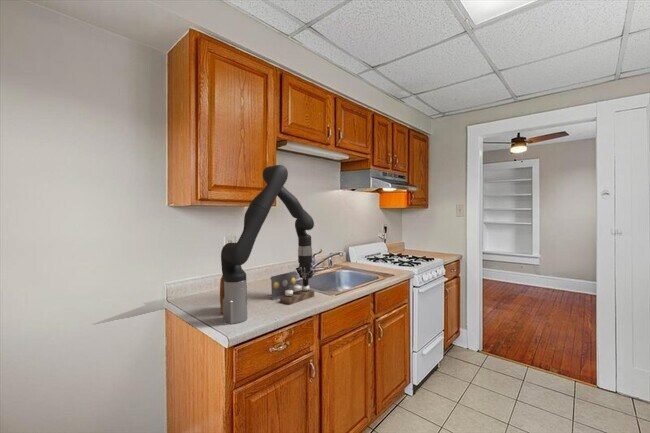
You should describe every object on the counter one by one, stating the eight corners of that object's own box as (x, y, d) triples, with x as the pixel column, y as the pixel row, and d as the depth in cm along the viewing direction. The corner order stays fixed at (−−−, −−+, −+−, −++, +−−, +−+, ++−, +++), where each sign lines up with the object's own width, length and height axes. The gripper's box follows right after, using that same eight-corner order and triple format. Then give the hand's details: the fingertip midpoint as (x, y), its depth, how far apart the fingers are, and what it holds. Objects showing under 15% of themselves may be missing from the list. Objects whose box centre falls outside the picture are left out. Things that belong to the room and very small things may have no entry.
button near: (288, 296, 154) (288, 292, 153) (283, 295, 156) (283, 291, 156) (294, 294, 157) (294, 290, 156) (289, 293, 159) (289, 289, 159)
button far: (305, 291, 163) (305, 287, 162) (300, 289, 165) (300, 286, 165) (311, 289, 166) (310, 285, 165) (305, 288, 168) (305, 284, 168)
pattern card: (273, 300, 160) (272, 277, 160) (269, 299, 162) (269, 276, 162) (298, 292, 174) (297, 271, 173) (294, 291, 176) (294, 270, 175)
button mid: (297, 291, 158) (297, 287, 158) (292, 289, 161) (292, 286, 161) (303, 289, 161) (302, 285, 161) (297, 288, 164) (297, 284, 164)
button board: (289, 304, 152) (289, 298, 152) (280, 302, 157) (280, 296, 156) (314, 296, 165) (314, 290, 165) (305, 294, 170) (305, 288, 170)
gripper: (291, 253, 166) (292, 285, 167) (309, 256, 158) (309, 289, 158) (301, 252, 172) (302, 282, 173) (318, 254, 163) (319, 286, 164)
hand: (305, 286), depth 165 cm, fingers closed
